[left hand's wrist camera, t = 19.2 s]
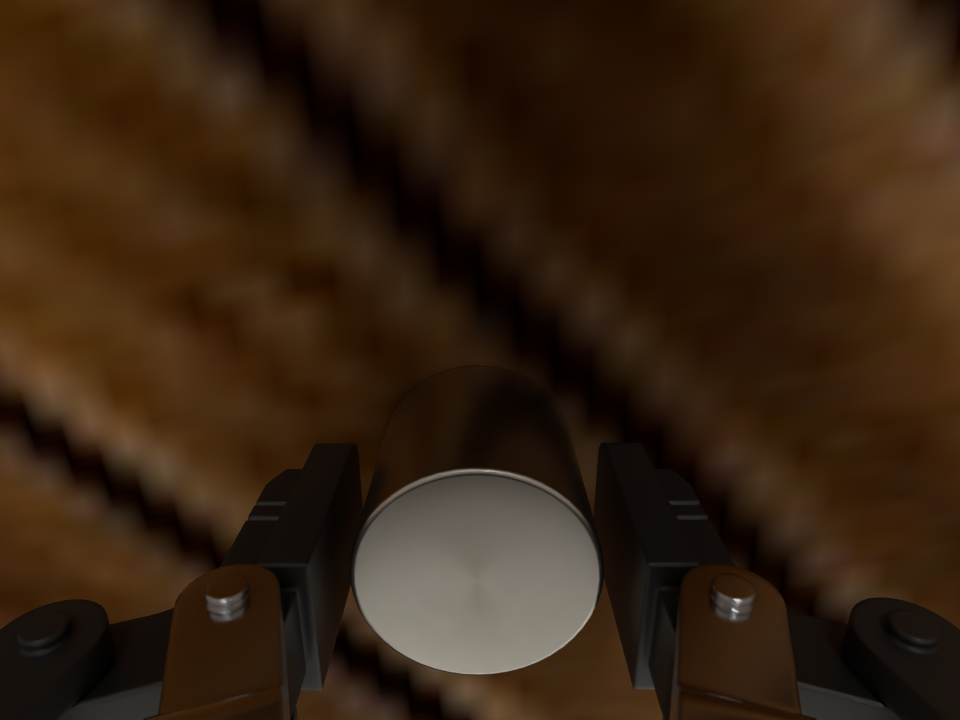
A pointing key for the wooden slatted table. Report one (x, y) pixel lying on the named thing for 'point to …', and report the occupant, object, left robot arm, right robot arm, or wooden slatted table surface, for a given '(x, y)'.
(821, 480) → the wooden slatted table surface
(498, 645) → the can
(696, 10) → the wooden slatted table surface
